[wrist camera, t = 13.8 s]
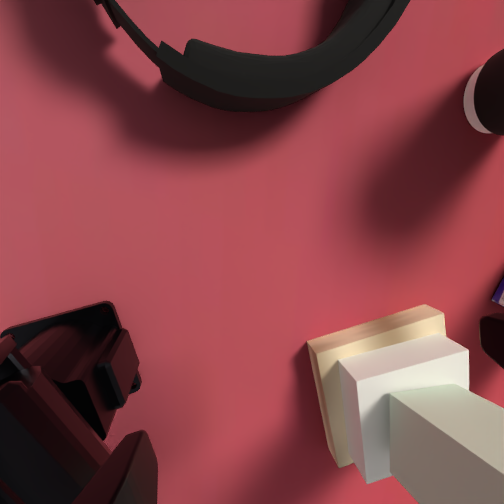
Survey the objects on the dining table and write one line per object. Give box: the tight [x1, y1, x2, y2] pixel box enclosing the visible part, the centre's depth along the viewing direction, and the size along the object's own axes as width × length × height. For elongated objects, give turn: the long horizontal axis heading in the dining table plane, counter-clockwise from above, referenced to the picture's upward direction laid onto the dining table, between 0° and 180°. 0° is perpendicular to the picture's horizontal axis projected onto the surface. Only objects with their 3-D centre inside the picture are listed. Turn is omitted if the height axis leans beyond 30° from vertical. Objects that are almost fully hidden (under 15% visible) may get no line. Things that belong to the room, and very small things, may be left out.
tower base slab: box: [307, 304, 446, 468], centre depth 23 cm, size 10×10×2 cm
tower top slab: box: [338, 333, 469, 484], centre depth 21 cm, size 8×8×2 cm
